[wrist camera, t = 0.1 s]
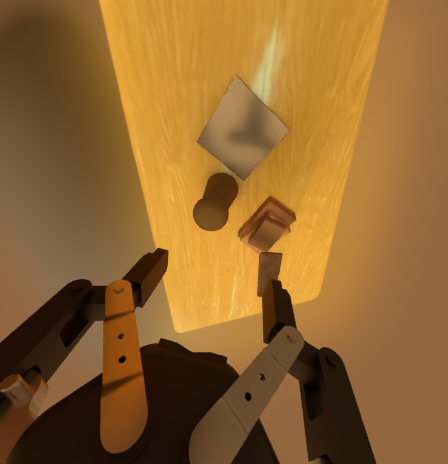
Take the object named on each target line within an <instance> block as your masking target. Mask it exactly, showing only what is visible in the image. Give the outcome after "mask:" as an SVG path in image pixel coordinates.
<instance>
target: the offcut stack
mask: <svg viewBox="0 0 448 464" xmlns="http://www.w3.org/2000/svg"><path fill="white" fill-rule="evenodd" d="M295 220H296V217H295V214H294V213H293V212H291V211H290V210H289V209H287V208H286V207H284V206H283V205H281V204H280V203H279V202H277V201H276V200H274V199H273V198H271V197H269V198H268V199H267V200H266V201H265V202H264V203H263V205H262V206H261V207H260V208H259V209H258V210H257V211H256V212H255V213H254V215H253V216H252V217H251V218H250V219H249V220H248V221H247V222H246V223H245V225H244V226H243V227H242V228H241V229H240V230H239V232H238V237H239V238H241V239H240V241H242V242H243V243H244V244H246V245H247V246H248V247H250V248H251V249H252V250H254V251H255V252H256V253H258V254H260V253H261V252H263V251H265V252H268V250H269V249H270V248H271V247H272V246H273V245H274V244H275V242H277V241H278V240H280V239H281V238H283V237H284V236H285V235H287V234H288V233H290V232H291V231H290V226H289V225H291V224H292V223H293V222H294V221H295Z"/></svg>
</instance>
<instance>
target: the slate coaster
mask: <svg viewBox="0 0 448 464" xmlns="http://www.w3.org/2000/svg"><path fill="white" fill-rule="evenodd" d="M288 131H289V129H288V128H287V127H286V126H285V125H284V124H283V123H282V122H281V121H280V120H279V119H278V118H277V117H276V116H275V115H274V114H273V113H272V112H271V111H270V110H269V109H268V108H267V107H266V106H265V105H264V104H263V103H262V102H261V101H260V100H259V99H258V98H257V97H256V96H255V95H254V93H253V92H252V91H251V90H250V89H249V88H248V87H247V86H246V85H245V84H244V83H243V82H242V81H241V80H240V79H239V78H238V77H237V76H235V78H234V80H233V81H232V83H231V85H230V86H229V88H228V90H227V92H226V93H225V95H224V97H223V98H222V100H221V102H220V103H219V105H218V107H217V108H216V110H215V112H214V113H213V115H212V117H211V119H210V120H209V122H208V124H207V125H206V127H205V129H204V130H203V132H202V134H201V135H200V137H199V139H198V141H197V142H198V143H199V144H200V145H201V146H202V147H204V148H205V149H206V150H207V151H208V152H210V153H211V154H212V155H213V156H214V157H216V158H217V159H218V160H219V161H220V162H222V163H223V164H224V165H225V166H226V167H228V168H229V169H230V170H231V171H232V172H234V173H235V174H236V175H237V176H238V177H240V178H241V179H242V180H243V181H245V179H246V178H247V177H248V176H249V175H250V174H251V173H252V171H253V170H254V169H255V168H256V167H257V166H258V165H259V164H260V162H261V161H262V160H263V159H264V158H265V157H266V156H267V155H268V153H269V152H270V151H271V150H272V149H273V148H274V147H275V146H276V144H277V143H278V142H279V141H280V140H281V139H282V138H283V137H284V135H285V134H286V133H287V132H288Z"/></svg>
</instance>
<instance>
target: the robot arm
mask: <svg viewBox="0 0 448 464" xmlns="http://www.w3.org/2000/svg"><path fill="white" fill-rule="evenodd" d="M167 266H168V250H165V249H161V248H157V249H156V251H155V252H154V253H150V252H149V253H148V254H146V255H144V256H143V257H142V258H141V259H140V260H139V261H138V262H137V263H136V265H134V266H133V268H132V269H131V270H130V271H129V272H128V273H127V274H126V275H125V276H124V277H123V278H122V279H121V280H117V281H114V282H112V283H110V284H109V285H108V286H92V283H91V282H90V281H89V280H85V279H79V280H75V281H72V282H70V283H68V284H67V285H66V286H65V287H63V288H62V289H61V290H60V291H59V292H58V293H57V294H55V295H54V296H53V297H52V298H51V299H50V300H49V301H47V302H46V303H45V304H44V305H43V306H42V307H41V308H39V309H38V310H37V311H36V312H35V313H34V314H33V315H31V316H30V317H29V318H28V319H27V320H26V321H25V322H23V323H22V324H21V325H20V326H19V327H18V328H17V329H15V330H14V331H13V332H12V333H11V334H10V335H9V336H8V337H6V338H5V339H4V340H3V341H2V342H1V343H0V464H280V463H279V460H278V458H277V456H276V454H275V452H274V449H273V447H272V445H271V443H270V440H269V438H268V436H267V434H266V432H265V429H264V427H263V426H262V423H261V421H260V418H259V417H260V415H261V414H262V412H263V411H264V409H265V408H266V406H267V404H268V403H269V401H270V400H271V398H272V397H273V395H274V393H275V392H276V390H277V389H278V387H279V385H280V384H281V382H282V381H283V379H284V378H285V376H286V375H287V373H289V374H290V375H292V376H294V377H295V378H296V379H298V380H299V384H300V392H301V400H302V409H303V418H304V425H305V435H306V443H307V451H308V459H309V462H308V463H306V464H376V461H375V458H374V455H373V452H372V449H371V446H370V442H369V440H368V436H367V433H366V430H365V427H364V424H363V421H362V418H361V415H360V412H359V409H358V405H357V402H356V399H355V396H354V393H353V390H352V387H351V384H350V381H349V378H348V375H347V372H346V368H345V365H344V363H343V361H342V359H341V358H340V356H339V355H338V354H336V352H334V351H333V350H332V349H329V348H326V347H323V348H321V349H320V350H319V349H317V348H315V347H314V346H312V345H310V344H308V343H307V342H306V341H305V340H304V338H303V336H302V334H301V333H300V332H299V331H298V330H297V328H296V322H295V318H294V313H293V309H292V304H291V297H290V295H289V293H288V292H287V290H285V289H282V284H281V281H279V280H275V279H271V278H270V280H269V282H268V284H267V286H266V288H265V290H264V293H263V297H262V308H263V339H264V340H263V341H264V343H266V344H268V346H267V347H266V348H264V349H263V350H262V351H261V352H260V353H259V355H258V356H257V357H256V358H255V359H254V360H253V362H252V363H251V364H250V365H249V366H248V367H247V369H246V370H245V371H244V372H243V373H242V374H241V375H240V376H239V375H238V373H237V372H236V370H235V369H234V368H233V367H232V366H230V365H229V364H227V357H225V356H222V355H218V354H214V353H211V352H191V351H189V350H188V349H186V348H184V347H183V346H181V345H180V344H178V343H176V342H173V341H170V340H166V339H163V338H161V339H160V341H159V343H154V344H149V345H146V346H143V347H141V348H140V347H139V340H138V331H137V324H136V316H135V309H136V307H141V308H143V306H144V305H145V303H146V301H147V300H148V298H149V297H150V295H151V294H152V292H153V291H154V289H155V288H156V286H157V285H158V283H159V282H160V280H161V278H162V277H163V275H164V274H165V272H166V270H167ZM102 320H104V323H103V373H101V374H100V375H98V376H97V377H95V378H94V379H92V380H91V381H89V382H88V383H86V384H85V385H83V386H82V387H80V388H79V389H77V390H76V391H74V392H73V393H71V394H70V395H68V396H67V397H65V398H64V399H62V400H61V401H59V402H58V403H56V404H55V405H53V406H52V407H50V408H49V409H47V410H46V411H45V412H43V413H42V414H41V415H40V416H39V417H38V412H39V409H40V407H41V405H42V404H43V402H44V400H45V399H46V397H47V394H48V385H47V381H48V380H49V379H50V378H51V376H52V375H53V374H54V373H55V371H56V370H57V369H58V367H59V366H60V365H61V363H62V362H63V361H64V360H65V358H66V357H67V356H68V354H69V353H70V352H71V351H72V349H73V348H74V347H75V346H76V344H77V343H78V342H79V341H80V339H81V338H82V337H83V335H84V334H85V333H86V332H87V330H88V329H89V328H90V326H91V325H92V324H93V323H94V321H102Z"/></svg>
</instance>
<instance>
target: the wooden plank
mask: <svg viewBox="0 0 448 464" xmlns="http://www.w3.org/2000/svg"><path fill="white" fill-rule="evenodd" d="M281 259H282V254H281V253H272V252H261V253H260V256H259V274H258V293H257V296H259V297H263V293H264V290H265V288H266V286H267V284H268V282H269V280H270V278H271V279H275V280H278V275H279V272H280V266H281Z"/></svg>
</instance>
